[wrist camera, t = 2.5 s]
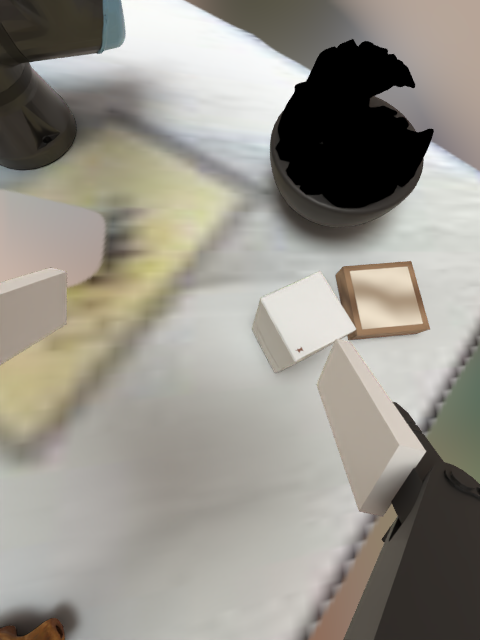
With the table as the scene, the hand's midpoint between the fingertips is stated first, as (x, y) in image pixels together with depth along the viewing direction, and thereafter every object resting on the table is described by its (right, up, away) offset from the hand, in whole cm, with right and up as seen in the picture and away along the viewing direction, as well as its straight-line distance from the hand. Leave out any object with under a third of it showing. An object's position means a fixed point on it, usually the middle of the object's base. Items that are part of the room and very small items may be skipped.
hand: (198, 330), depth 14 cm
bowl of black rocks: (+16, +20, +33) cm, 42 cm away
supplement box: (+8, -2, +27) cm, 28 cm away
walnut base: (+22, +3, +28) cm, 36 cm away
